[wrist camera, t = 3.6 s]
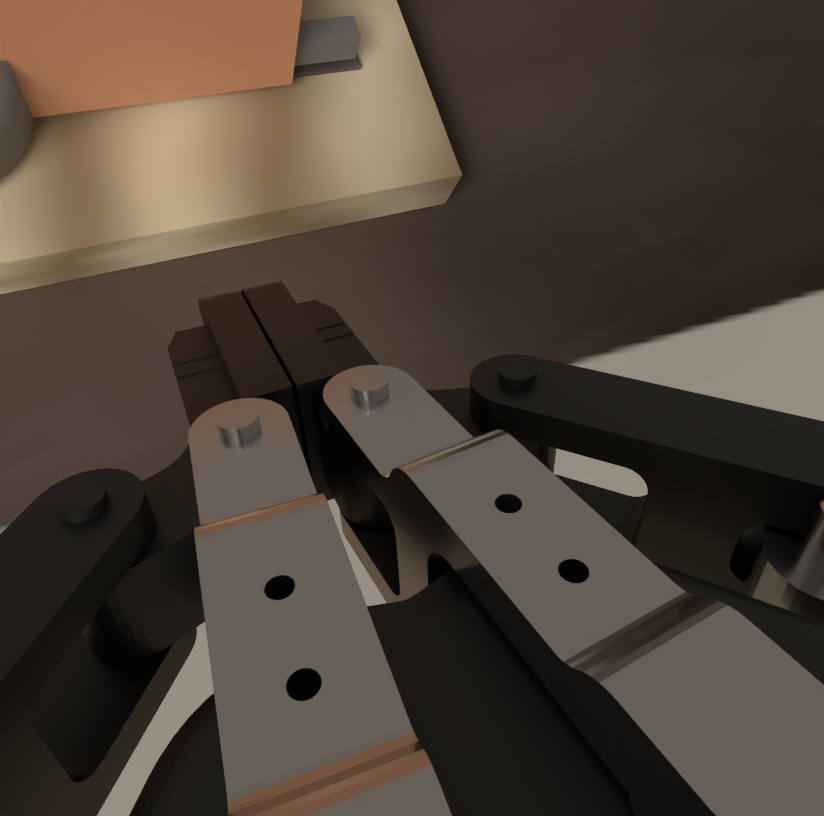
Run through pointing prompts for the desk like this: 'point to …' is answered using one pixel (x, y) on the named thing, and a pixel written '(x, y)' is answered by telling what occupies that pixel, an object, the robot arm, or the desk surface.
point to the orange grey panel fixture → (149, 54)
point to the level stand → (229, 163)
